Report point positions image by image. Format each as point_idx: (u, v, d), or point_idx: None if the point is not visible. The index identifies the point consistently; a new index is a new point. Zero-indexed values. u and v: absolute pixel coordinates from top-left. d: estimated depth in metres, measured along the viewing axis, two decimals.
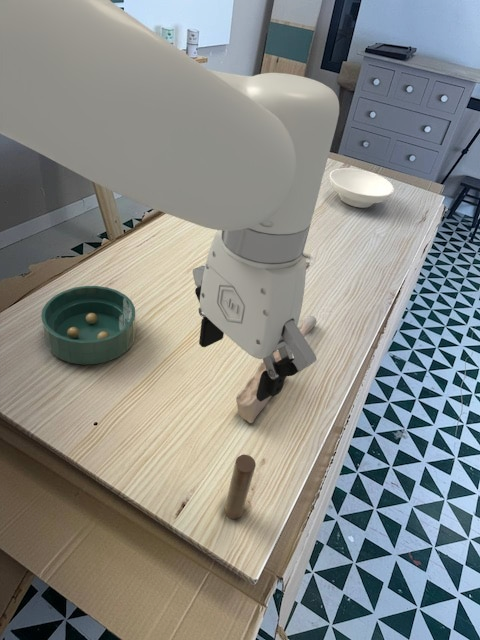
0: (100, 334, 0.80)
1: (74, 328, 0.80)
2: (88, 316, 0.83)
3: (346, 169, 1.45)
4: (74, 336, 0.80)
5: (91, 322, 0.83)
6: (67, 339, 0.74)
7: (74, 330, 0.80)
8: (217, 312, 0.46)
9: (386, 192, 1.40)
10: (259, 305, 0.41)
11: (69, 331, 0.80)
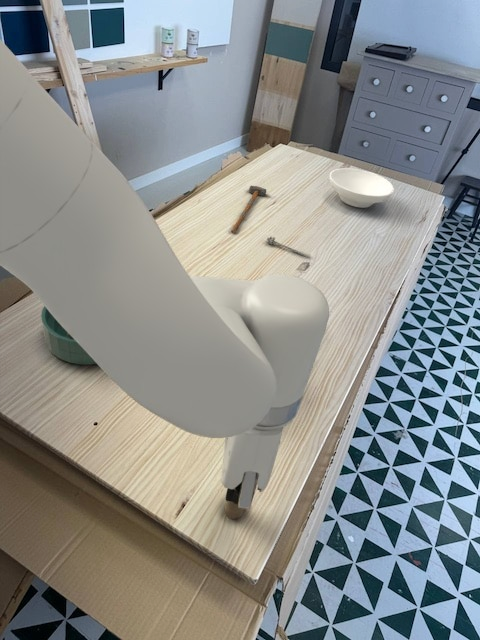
0: None
1: None
2: None
3: (346, 169, 1.45)
4: None
5: None
6: (67, 339, 0.74)
7: None
8: None
9: (386, 192, 1.40)
10: (229, 444, 0.47)
11: None
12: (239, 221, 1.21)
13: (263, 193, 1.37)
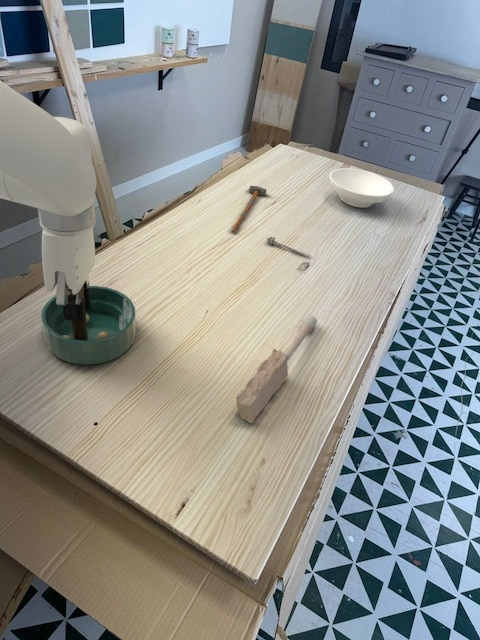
0: (100, 334, 0.80)
1: None
2: None
3: (346, 169, 1.45)
4: None
5: None
6: (67, 339, 0.74)
7: None
8: None
9: (386, 192, 1.40)
10: None
11: None
12: (239, 221, 1.21)
13: (263, 193, 1.37)
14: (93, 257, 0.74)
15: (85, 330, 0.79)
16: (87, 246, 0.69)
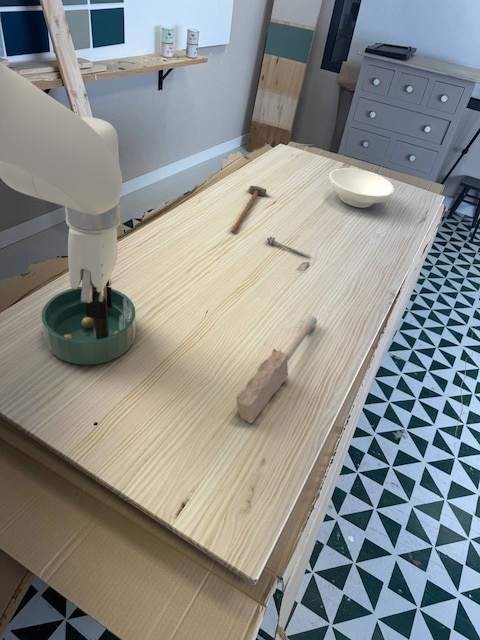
0: None
1: None
2: (83, 320, 0.82)
3: (346, 169, 1.45)
4: None
5: (83, 326, 0.83)
6: (67, 339, 0.74)
7: None
8: None
9: (386, 192, 1.40)
10: None
11: None
12: (239, 221, 1.21)
13: (263, 193, 1.37)
14: (116, 255, 0.75)
15: (106, 328, 0.80)
16: (111, 244, 0.70)
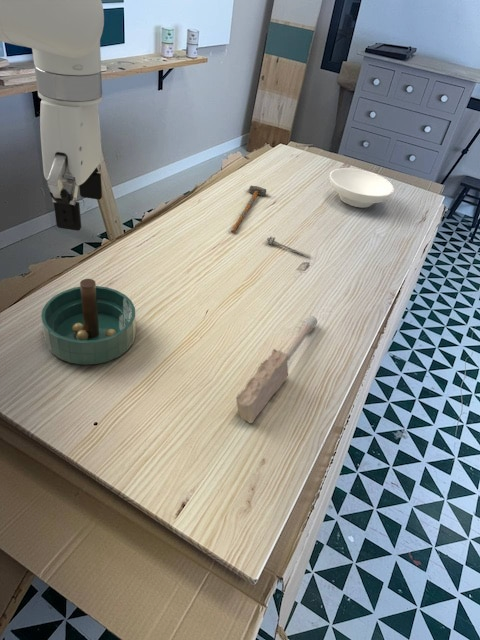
0: (114, 331, 0.81)
1: (83, 331, 0.80)
2: None
3: (346, 169, 1.45)
4: (76, 336, 0.80)
5: None
6: (67, 339, 0.74)
7: (81, 332, 0.80)
8: None
9: (386, 192, 1.40)
10: None
11: None
12: (239, 221, 1.21)
13: (263, 193, 1.37)
14: (99, 151, 0.65)
15: (96, 326, 0.81)
16: (93, 129, 0.60)
